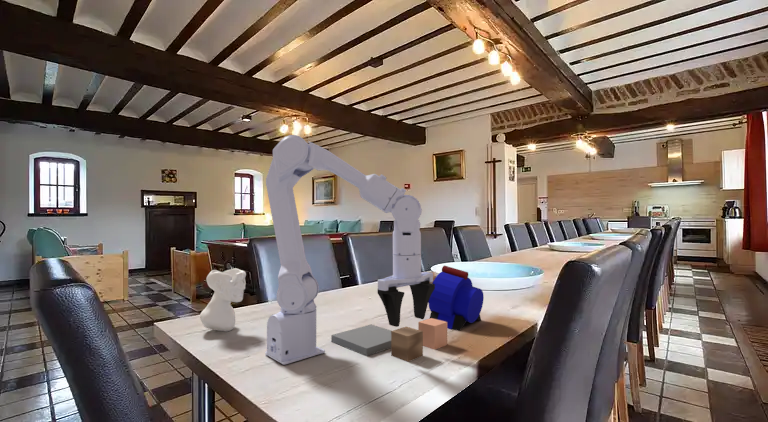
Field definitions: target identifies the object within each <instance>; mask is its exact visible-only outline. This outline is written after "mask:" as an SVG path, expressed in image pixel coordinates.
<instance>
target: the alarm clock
mask: <svg viewBox="0 0 768 422" xmlns="http://www.w3.org/2000/svg"><path fill="white" fill-rule="evenodd" d="M431 283H432V284H435V289H434V291H433V292H432V294H431V296H430V299H429V302H428V308H429V310H430V315H429V318H428V319H430V318H433V319H437V320H441V321H445V322H447V330H452V331H458V332H459V331H461V330H462V329H463V327H464V326H465V324H466V323H467V322H468V323H470V324H472V323H473V324H474V322H476V321H479V322H480V321H481V322H482V319H481V312H482V309H483V305H484V292H483V290H482V288H479V287H475V286H473V282H472V280H471V278H470V277H469V272H468V271H464V270H462V269H458V268H454V267H451V266H448V265H443V266H442V267H441V272H439V273H438V274H437V275H436V277H434V279H433V282H431Z"/></svg>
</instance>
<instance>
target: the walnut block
mask: <svg viewBox="0 0 768 422" xmlns="http://www.w3.org/2000/svg"><path fill="white" fill-rule="evenodd" d="M390 349H391V352H390V353H391V354H390V356H391V357H394V358H396V359H400V360H401V361H405V362H406V363H409V362H411V361H413V360H417V359H419V358H422V357H423V356H424V346H423V331H420V330H418V328H417V329H416V328H412V327H409V326H404V327H401V328H397V329H394V330H391V348H390Z"/></svg>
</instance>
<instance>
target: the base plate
mask: <svg viewBox="0 0 768 422" xmlns="http://www.w3.org/2000/svg"><path fill="white" fill-rule="evenodd" d="M391 331H392V330H390V329H387V328H384V327H381V326H377V325H375V324H367V325H364V326H360V327H355V328H352V329H348V330H345V331H341V332H338V333H334V334H331V335H330V336H331V341H330V342H331V343H333V344H336V345H338V346H341V347H344V348H346V349H349V350H350V351H353V352H356V353H358V354H361V355H363V356H365V357H368V356H371V355H374V354H376V353H379V352H383V351H385V350H388V349H391Z"/></svg>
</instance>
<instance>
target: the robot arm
mask: <svg viewBox="0 0 768 422" xmlns="http://www.w3.org/2000/svg"><path fill="white" fill-rule="evenodd" d="M271 159H272V160H271V162H270V166H269V169H268V171H267V172H268V173H267V175H266V178H265V186H266V191H267V196H268V203H269V208H270V213H271V217H272V219H271V220H272V224H273V228H274V229H273V230H274V235H275V240H276V245H277V252H278V257H279V262H280V268H279V271H278V275H277V281H278V289H277V291H276V301H277V305H278V306H279V307H280V311H278V312H277V313H274V314H272V315H270V316H269V317H268V319H267V322H266V351H265V352H264V354H265V355H266V356H267V357H269V358H271V359H272V360H274V361H277V362H278V363H280V364H282V365H288V364H292V363H294V362H298V361H302V360H304V359H308V358H312V357H314V356H319V355H321V354H324V353H325V352H326V351H325V349H323V348H322V347H319V346H317V305H316V303H315V299H316V298H317V296H318V295H319V291H320V287H319V282H318V280H317V279H316V278H315V277H314V276H315V275H313V271H312V268H311V267H312V266H311V265H310V264H309V263H308V261H307V257H306V252H305V247H304V241H303V237H302V236H303V235H302V231H301V225H300V220H299V215H298V209H297V204H296V198H295V193H294V187H295V186H296V184H297V183H298V182H299V181H300V180H301V178H302V177H304V176H305V175H307V174H309V173H310V172H312V171H313V170H316V171H328V172H330V173H332V174H334V175H336V176H337V177H339V178H341V179H342V180H344V181H346V182H347V183H349V184H350V185H352V186H354V187H356V188H357V189H358V191H359V196H360V198H361V199H362V200H365V201H366V202H367V203H369V204H371V205H372V206H374V207H375V208H377V209H378V210H381V211H382V212H384V213H386V214H388V213H391V216H392V217H393V219H394V220H393V231H392V275H389V276H386V277H384V278H380V279H377V295H378V296H379V298H380V300H381V302H382V304H383V306H384V310H385V312H386V316H387V321H388V325H389V326H392V327H395V328H397V327H399V326H400V324H401V323H400V322H401V308H402V303H403V299H404V297H405V292H404V291H399V289H398V288H403V287H408V286H409V289H410V292H411V295H412V303H413V315H414V318H417V319H420V320H425V316H426V313H427V308H428V306H429V304H428V302H429V299H430V296H431V294H432V292H433V291H434V289H435V284H432V283H433V281H434V273H433V272H431V271H430V272H429V271H424V272H423V271H422V233H421V231H420V229H421V222H420V217H421V215H422V211H423V209H422V207H421V206H422V205H421V203H420V201H419V200H418V198H416V197H415V196H413V195H410V194H406V192H407V190H406V189H405V188H404V187H401V188H399V187H397V186H396V185H394V184H393V183H391V182H389V181H388V180H387V179H388V178H387V176H385V175H384V174H382V173H381V174H380V175H378V174H376V173H371V174H368V175H366V174H364V173H363V172H361V171H360V170H358V169H357V168H355V166H352V165H351V164H349V163H348V162H347V161H345V160H344V159H342V158H340V157H339V156H338V155H336V154H334V153H333V152H331V151H330V150H328V149H326V148H324V147H323V146H321V145H318V144H316V143H314V142H312V141H309V140H308V141H306V140H305V139H304V138H303V137H301V136H300V135H298V134H297V135H295V134H289V135H286V136H284V137H282V139H281V140H280V141H279V142H278V143H277V144H276V145H275V146H274V148H273V149H272V158H271Z"/></svg>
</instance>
